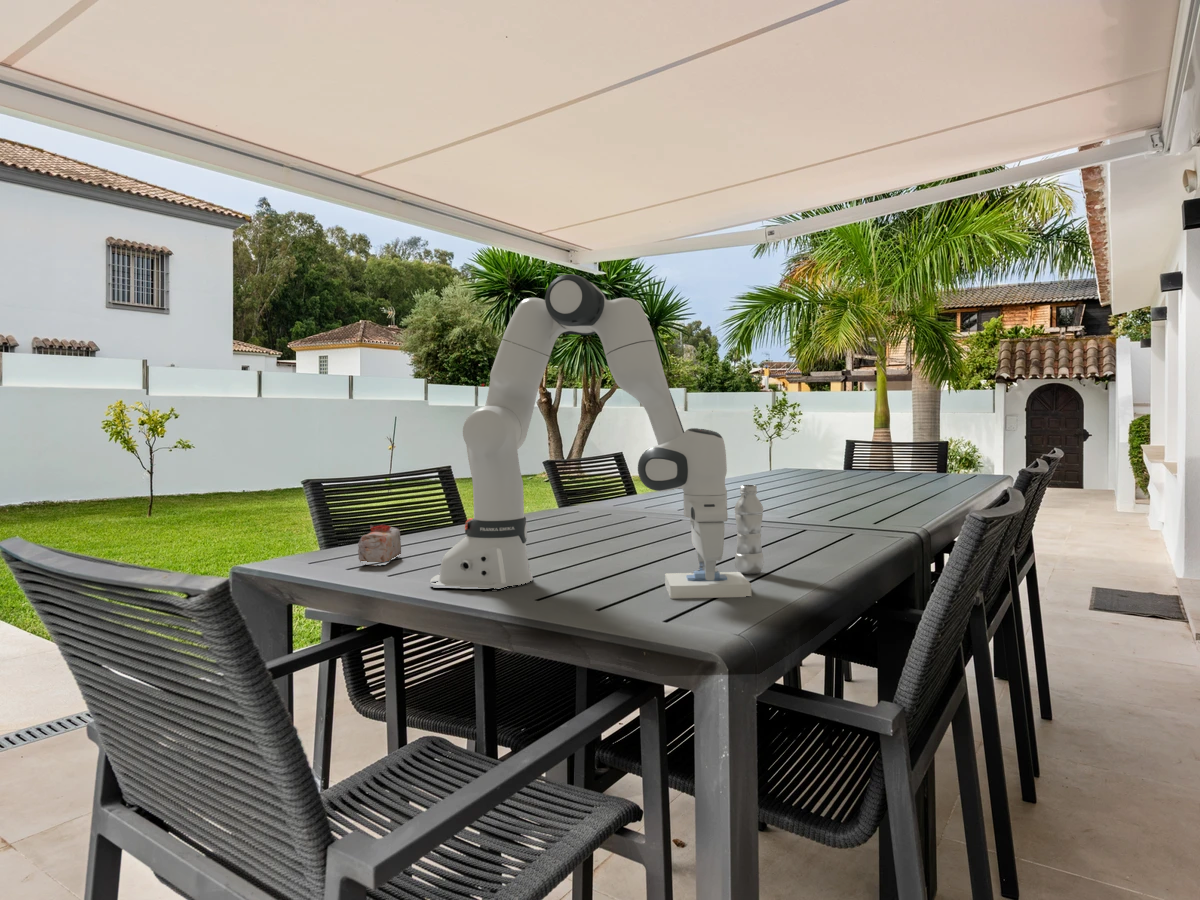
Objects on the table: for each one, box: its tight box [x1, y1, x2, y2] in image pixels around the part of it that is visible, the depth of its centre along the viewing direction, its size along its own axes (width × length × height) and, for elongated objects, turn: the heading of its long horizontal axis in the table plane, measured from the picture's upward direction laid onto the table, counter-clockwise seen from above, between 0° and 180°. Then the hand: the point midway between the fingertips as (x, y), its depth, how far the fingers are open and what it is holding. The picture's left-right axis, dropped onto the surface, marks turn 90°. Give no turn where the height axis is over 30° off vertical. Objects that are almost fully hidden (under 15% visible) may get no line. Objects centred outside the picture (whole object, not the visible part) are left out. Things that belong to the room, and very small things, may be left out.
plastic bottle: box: [734, 484, 765, 575], centre depth 171 cm, size 6×7×20 cm
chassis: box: [664, 571, 752, 599], centre depth 155 cm, size 16×12×2 cm
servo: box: [686, 567, 727, 581], centre depth 155 cm, size 8×3×5 cm, turn 89°
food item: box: [357, 523, 402, 563], centre depth 194 cm, size 14×8×10 cm, turn 178°
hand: (706, 574), depth 155 cm, fingers open, 8 cm apart
